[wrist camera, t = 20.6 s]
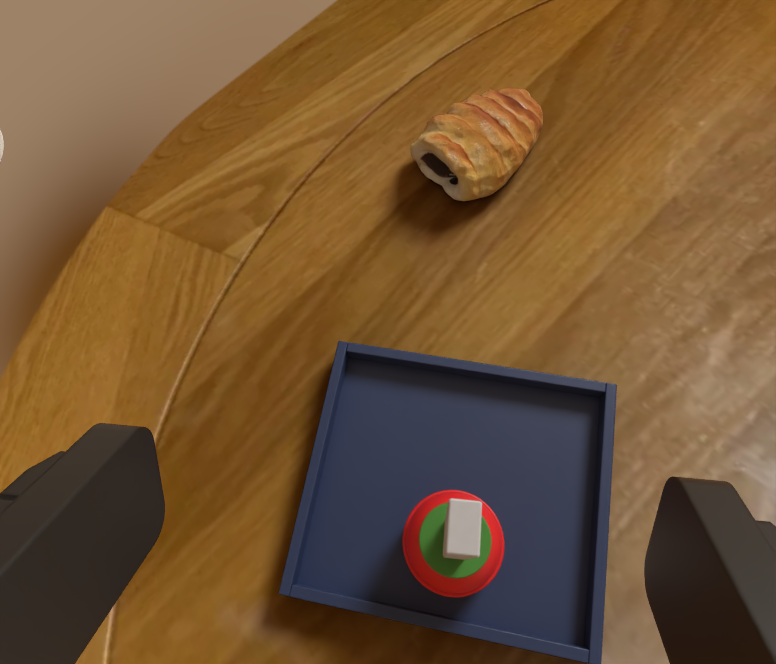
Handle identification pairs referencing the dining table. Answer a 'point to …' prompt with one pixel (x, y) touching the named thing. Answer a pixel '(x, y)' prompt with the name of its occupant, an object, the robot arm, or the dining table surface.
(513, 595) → the tray
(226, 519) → the dining table surface
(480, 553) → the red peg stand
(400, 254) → the dining table surface
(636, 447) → the dining table surface
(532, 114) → the pastry
